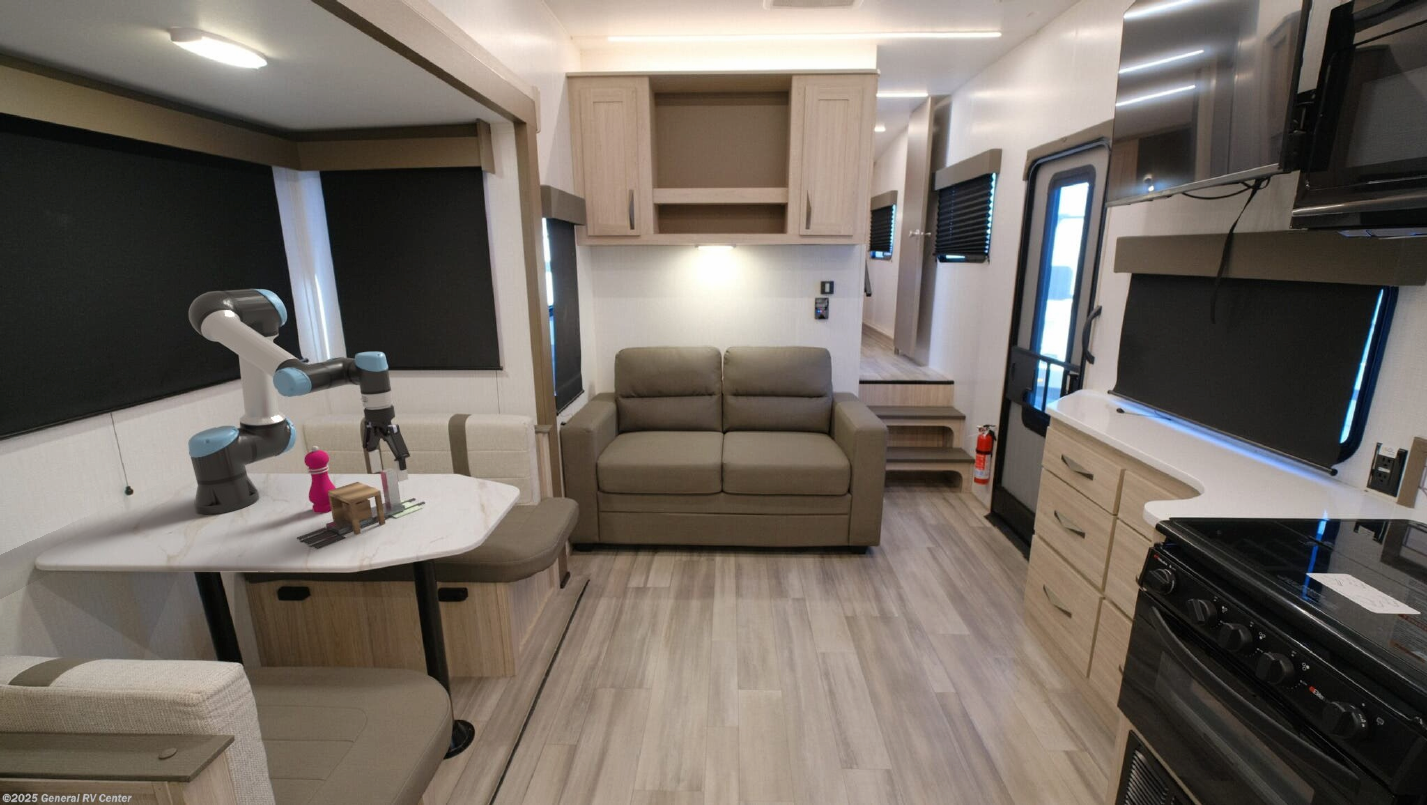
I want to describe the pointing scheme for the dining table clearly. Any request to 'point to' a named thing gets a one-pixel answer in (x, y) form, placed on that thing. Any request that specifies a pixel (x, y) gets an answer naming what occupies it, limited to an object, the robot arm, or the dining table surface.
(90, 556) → the dining table surface
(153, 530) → the dining table surface
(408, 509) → the pad
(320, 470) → the pepper mill
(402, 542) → the dining table surface
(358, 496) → the tunnel
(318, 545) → the flat slatted panel
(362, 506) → the block
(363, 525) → the rails
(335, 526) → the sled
